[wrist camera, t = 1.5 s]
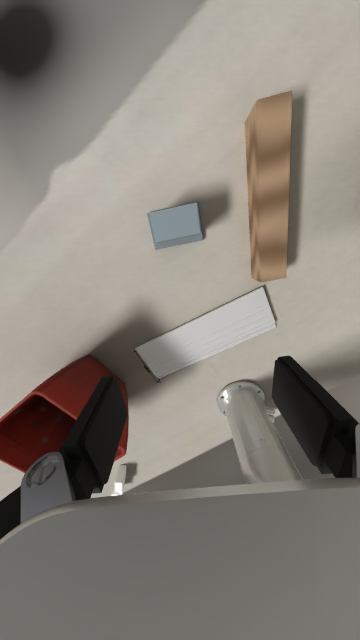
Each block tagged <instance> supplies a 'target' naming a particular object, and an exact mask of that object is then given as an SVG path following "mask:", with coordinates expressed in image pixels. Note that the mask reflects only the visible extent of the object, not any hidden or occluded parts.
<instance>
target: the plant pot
mask: <svg viewBox="0 0 360 640" xmlns="http://www.w3.org/2000/svg"><path fill="white" fill-rule="evenodd" d="M103 376H114V378H117V381H118V384H119V387H120V390H121V393H122V395H123V398H124V401H125V404H126V407H127V412H128V399H127V391H126V386H125V384H124V383H123V382H122V381H121V380H120V379H119V378H118V377H116V376H115V375H114V374H113V373H112V372H110V371H109V370H108V369H107V368H106V367H104V366H103V365H102V364H101V363H100V362H99V361H97V360H96V359H95V358H94V357H93V356H91V355H87V356H84V357H82V358H80V359H78V360H76V361H74V362H72V363H70V364H69V365H67V366H66V367H64V368H62V369H61V370H60V371H58V372H57V373H55V374H54V375H53V376H51V377H50V378H48V379H47V380H46V381H44V382H43V383H42V384H40V385H39V386H38V387H37V388H35V389H34V390H33V391H32V392H31V393H29V394H28V395H27V396H26V397H25V398H24V399H23V400H21V401H20V402H19V403H18V404H17V405H16V406H14V407H13V408H12V409H11V410H10V411H9V412H7V413H6V414H5V415H4V416H3V417H2V418H0V461H2V462H4V463H6V464H8V465H10V466H12V467H14V468H16V469H18V470H20V471H22V472H24V473H26V471H27V470H28V469H29V467H30V466H31V465H32V464H33V463H34V462H35V461H36V460H38V459H39V458H40V457H42V456H44V455H46V454H47V453H51V452H58V451H59V449H60V447H61V446H62V444H63V442H64V440H65V439H66V437H67V435H68V433H69V432H70V430H71V428H72V427H73V425H74V423H75V421H76V420H77V418H78V416H79V415H80V413H81V411H82V409H83V408H84V406H85V404H86V403H87V402H88V400H89V398H90V397H91V395H92V393H93V392H94V390H95V388H96V386H97V385H98V383H99V381H100V379H101V378H102V377H103ZM128 421H129V415H128V414H127V419H126V422H125V425H124V429H123V432H122V435H121V439H120V442H119V446H118V449H117V452H116V456H115V459H114V461H116V460H117V459H119V458H121V457H123V456H124V455H125V454H126V450H127V441H128Z"/></svg>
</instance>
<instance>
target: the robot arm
mask: <svg viewBox="0 0 360 640" xmlns="http://www.w3.org/2000/svg"><path fill="white" fill-rule="evenodd" d="M272 398H273V401H274V403H275V404H276V406H277V408H278V409H279V411H280V413H281V414H282V416H283V418H284V419H285V421H286V422H287V424H288V426H289V427H290V429H291V431H292V432H293V434H294V435H295V437H296V439H297V441H298V442H299V444H300V445H301V447H302V449H303V450H304V452H305V454H306V455H307V457H308V459H309V460H310V462H311V463H312V464H313V465H314V466H317V467H318V469H319V471H320V472H321V474H330V473H333V475H334V476H335V478H327V479H311V480H303V479H302V477H301V475H300V474H299V472H298V470H297V468H296V466H295V465H294V463H293V461H292V459H291V457H290V455H289V453H288V451H287V449H286V447H285V446H284V444H283V442H282V440H281V438H280V436H279V434H278V432H277V430H276V429H275V427H274V425H273V422H274V420H275V418H274V416H273V415H270V414H274V413H275V410H274V409H273V408H269V407H267V406H266V405H265V403H264V401H265V396H264V393H263V391H262V390H261V388H260V387H259V386H258V385H256V384H254V383H251V382H246V381H241V382H235V383H232V384H230V385H228V386H226V387H225V388H224V389H223V390H222V391H221V392H220V393H219V395H218V398H217V404H218V408H219V410H220V411H221V412H222V413H223V414H224V415H225V416H227V419H228V422H229V426H230V429H231V433H232V437H233V440H234V443H235V447H236V451H237V454H238V458H239V461H240V465H241V468H242V472H243V475H244V478H245V480H246V482H247V483H248V484H243V485H231V486H219V487H206V488H194V489H183V490H172V491H160V492H149V493H137V494H126V495H117V496H108V497H99V498H90V497H91V494H92V493H101V492H102V489H103V486H104V484H106V483H107V482H108V479H109V476H110V473H111V469H112V466H113V462H114V459H115V456H116V452H117V449H118V446H119V442H120V439H121V435H122V432H123V429H124V425H125V422H126V419H127V414H128V412H127V407H126V404H125V401H124V398H123V395H122V393H121V390H120V387H119V384H118V381H117V378H114V376H103V377H102V378H101V379H100V381H99V383H98V385H97V386H96V388H95V390H94V392H93V393H92V395H91V397H90V398H89V400H88V402H87V403H86V404H85V406H84V408H83V409H82V411H81V413H80V415H79V416H78V418H77V420H76V421H75V423H74V425H73V427H72V428H71V430H70V432H69V433H68V435H67V437H66V439H65V440H64V442H63V444H62V446H61V447H60V449H59V451H58V452H51V453H47V454H46V455H44V456H42V457H40V458H39V459H38V460H36V461H35V462H34V463H33V464H32V465H31V466H30V467H29V469H28V470H27V471H26V473H25V475H24V477H23V479H22V482H21V486H20V487H19V488H17V489H16V490H15V491H13V492H12V493H11V494H9V495H8V496H7V497H5V498H4V499H3V500H1V501H0V640H360V423H358V422H357V421H356V420H355V419H354V418H353V417H352V416H351V415H350V414H349V413H348V412H347V411H346V410H345V409H344V408H343V407H342V406H341V405H340V404H339V403H338V402H337V401H336V400H335V399H334V398H333V397H332V396H331V395H330V394H329V393H328V392H327V391H326V390H325V389H324V388H323V387H322V386H321V385H320V384H319V383H318V382H317V381H316V380H314V379H313V378H312V377H311V376H310V375H309V374H308V373H307V372H306V371H305V370H304V369H303V368H302V367H301V366H300V365H299V364H298V363H297V362H296V361H295V360H294V359H293V358H292V357H291V356H283V357H278V360H275V367H274V378H273V388H272ZM267 412H268V413H270V414H268V413H267Z"/></svg>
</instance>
